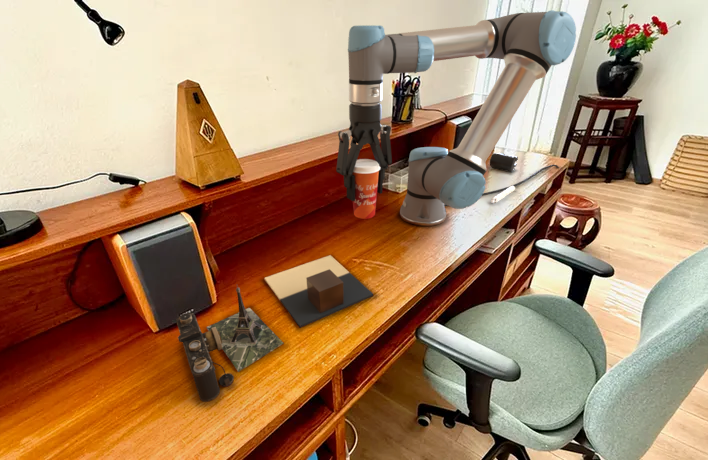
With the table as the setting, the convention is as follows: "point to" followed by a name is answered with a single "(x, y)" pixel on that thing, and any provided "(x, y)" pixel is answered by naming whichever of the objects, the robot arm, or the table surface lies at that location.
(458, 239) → the table surface
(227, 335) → the eiffel tower figurine
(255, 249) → the table surface
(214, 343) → the camera
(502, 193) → the marker
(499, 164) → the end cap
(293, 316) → the sorting mat
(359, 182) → the paper cup
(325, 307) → the walnut block
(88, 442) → the table surface
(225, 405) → the table surface
